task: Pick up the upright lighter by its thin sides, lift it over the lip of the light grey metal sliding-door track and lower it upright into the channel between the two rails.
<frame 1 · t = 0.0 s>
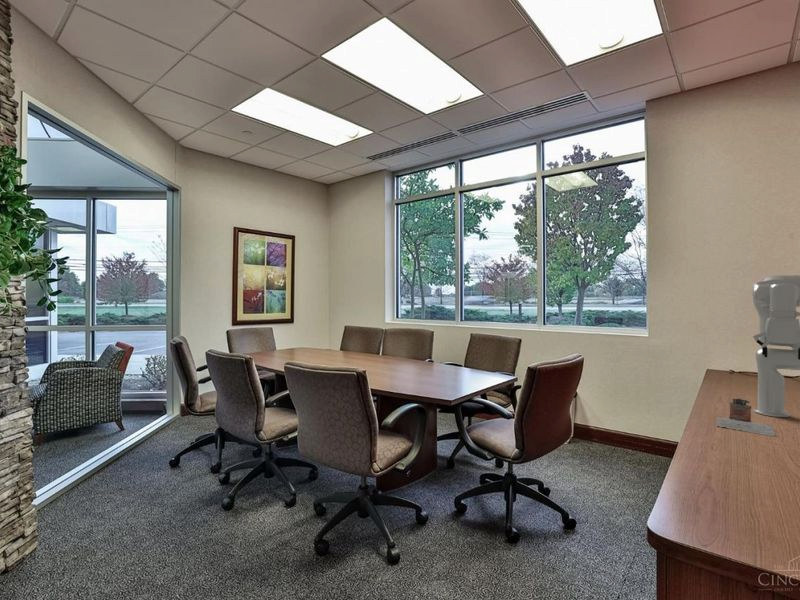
hand: (782, 358, 156), 31 cm above the table, tool pointing down, fingers open, 9 cm apart
track: (744, 428, 168), on the table
lighter: (740, 421, 178), on the table
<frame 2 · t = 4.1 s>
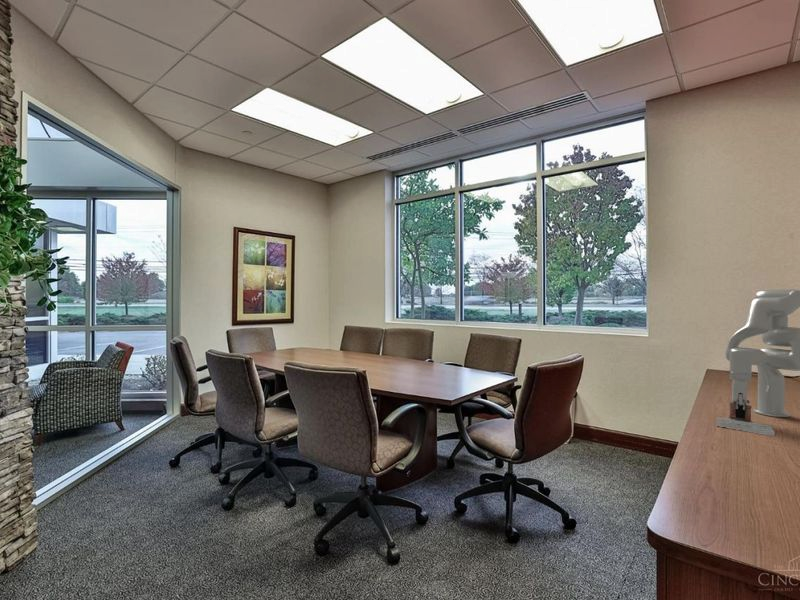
hand: (740, 416, 178), 2 cm above the table, tool pointing down, fingers closed on lighter, 4 cm apart
lighter: (740, 421, 178), on the table, touching gripper
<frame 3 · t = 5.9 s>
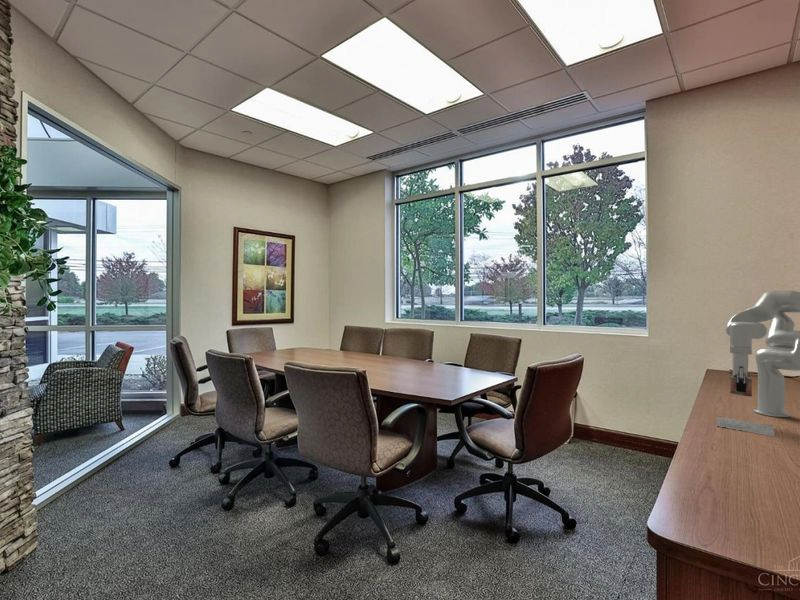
hand: (740, 390, 179), 14 cm above the table, tool pointing down, fingers closed on lighter, 4 cm apart
lighter: (740, 394, 179), point 12 cm above the table, touching gripper
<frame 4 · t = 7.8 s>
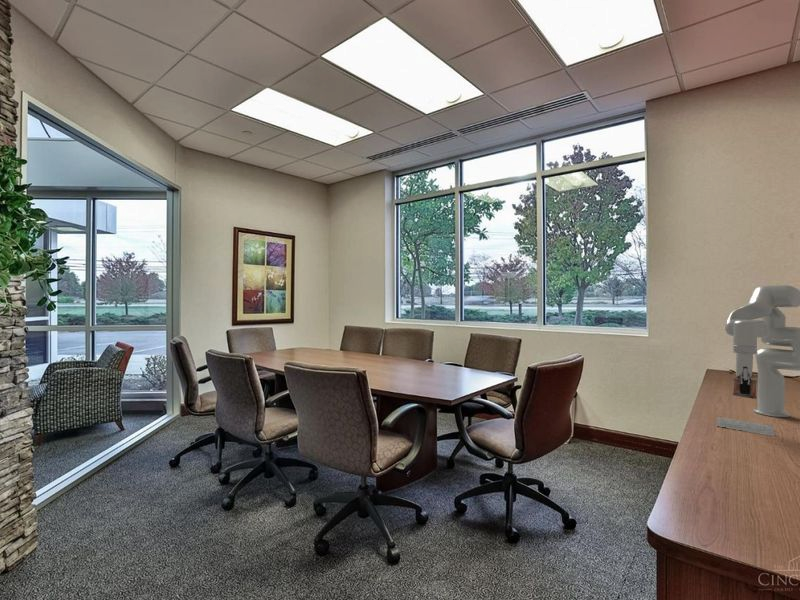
hand: (744, 392, 168), 15 cm above the table, tool pointing down, fingers closed on lighter, 4 cm apart
lighter: (744, 397, 168), point 13 cm above the table, touching gripper
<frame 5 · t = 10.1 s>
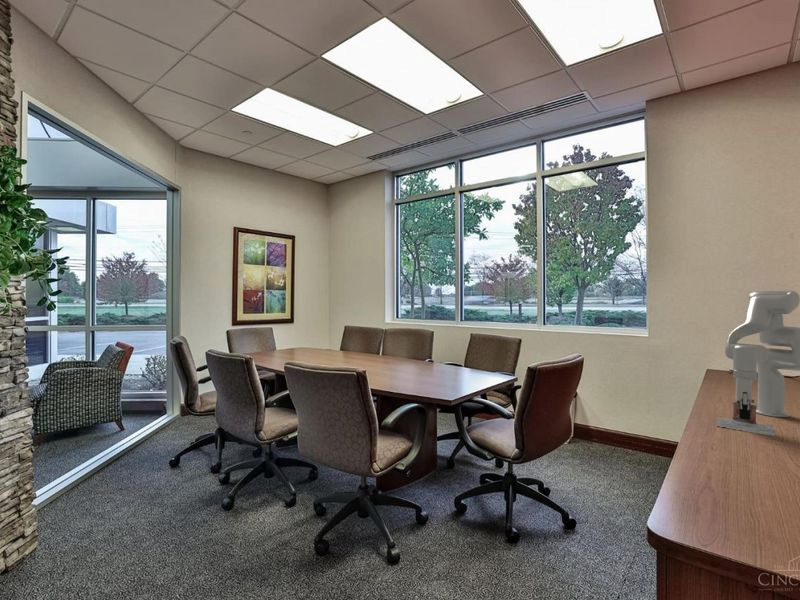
hand: (744, 417, 168), 5 cm above the table, tool pointing down, fingers closed on lighter, 4 cm apart
lighter: (744, 422, 168), point 2 cm above the table, touching gripper
when the fingers open (2 cm above the table, at t = 11.9 s): lighter stays where it is, resting on track.
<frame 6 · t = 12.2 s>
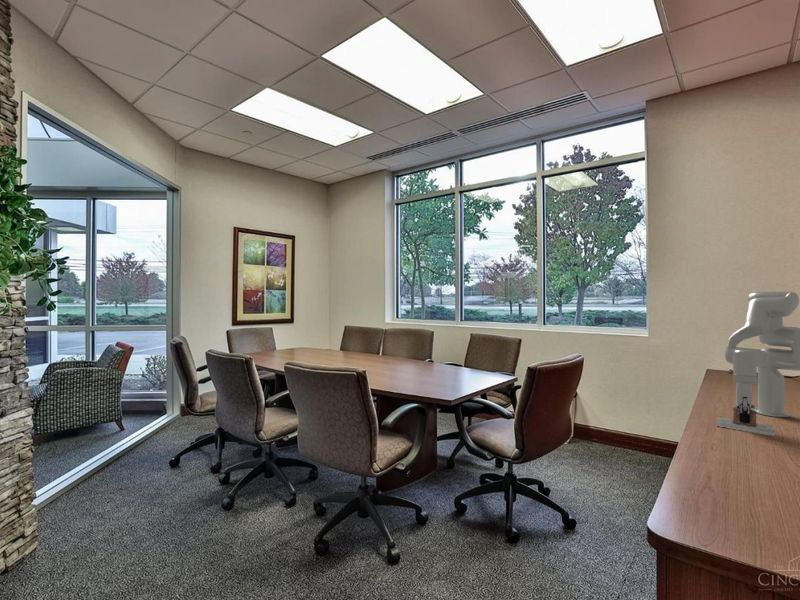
hand: (744, 420, 168), 3 cm above the table, tool pointing down, fingers open, 7 cm apart
lighter: (744, 427, 168), resting on track
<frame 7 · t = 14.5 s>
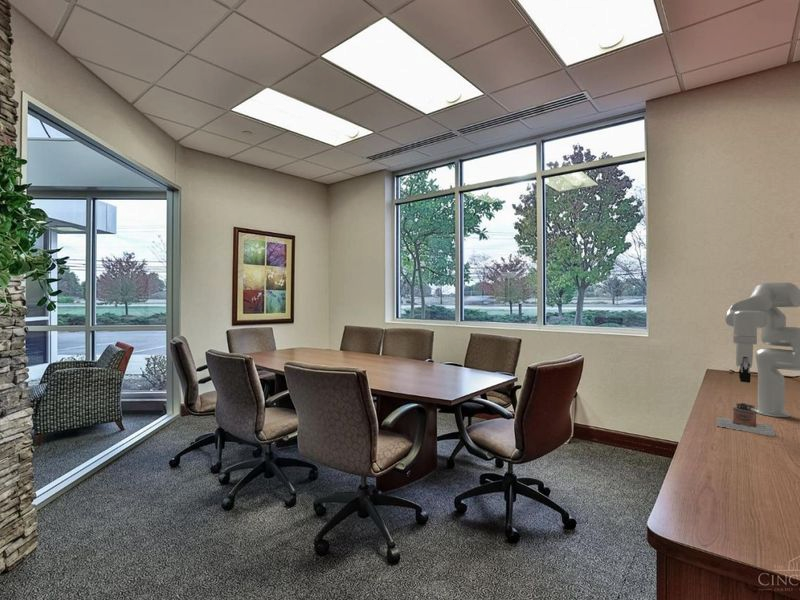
hand: (744, 380, 168), 20 cm above the table, tool pointing down, fingers open, 9 cm apart
nothing on the table moved.
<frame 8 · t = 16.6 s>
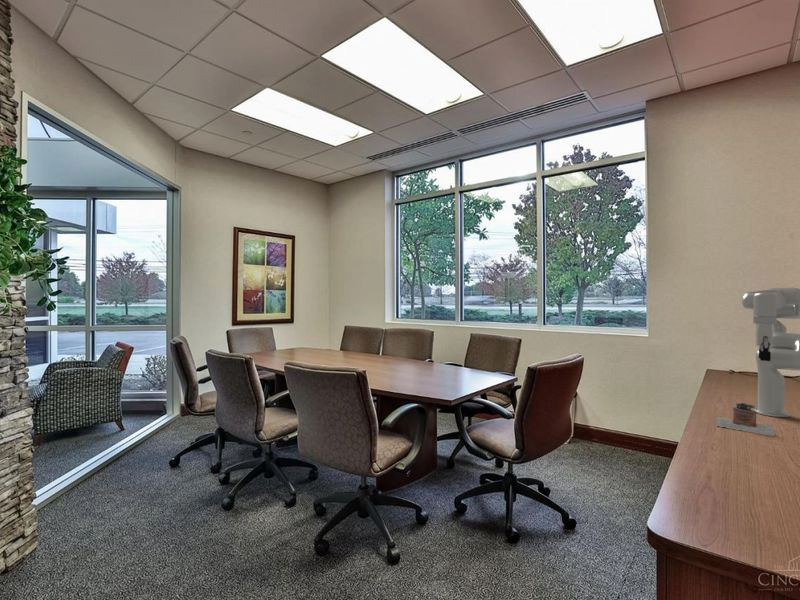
hand: (764, 359, 174), 28 cm above the table, tool pointing down, fingers open, 9 cm apart
nothing on the table moved.
at the end: lighter inside the target area on the track (0.2 cm from its centre), point 0.2 cm above the track's base; lighter tilted 0°; the gripper is holding nothing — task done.
